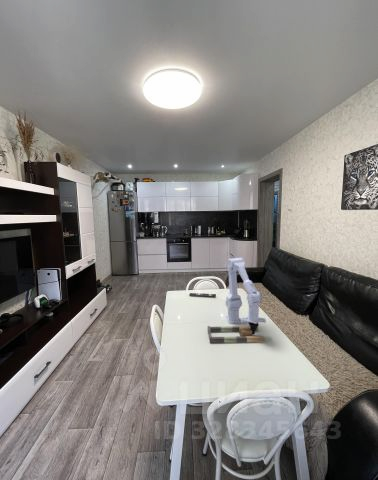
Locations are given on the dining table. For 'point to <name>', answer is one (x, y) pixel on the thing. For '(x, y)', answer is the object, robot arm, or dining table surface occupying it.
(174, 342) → the dining table surface
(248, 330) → the tan wooden block
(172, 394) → the dining table surface
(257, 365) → the dining table surface
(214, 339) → the trap lane
